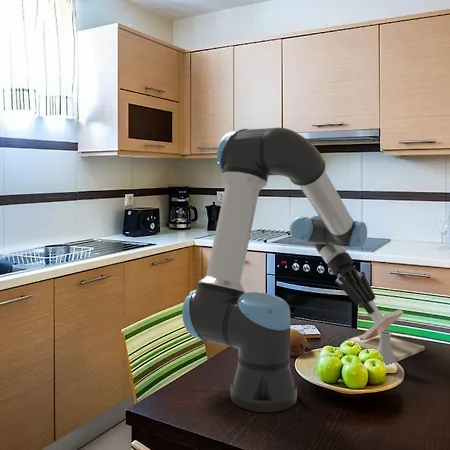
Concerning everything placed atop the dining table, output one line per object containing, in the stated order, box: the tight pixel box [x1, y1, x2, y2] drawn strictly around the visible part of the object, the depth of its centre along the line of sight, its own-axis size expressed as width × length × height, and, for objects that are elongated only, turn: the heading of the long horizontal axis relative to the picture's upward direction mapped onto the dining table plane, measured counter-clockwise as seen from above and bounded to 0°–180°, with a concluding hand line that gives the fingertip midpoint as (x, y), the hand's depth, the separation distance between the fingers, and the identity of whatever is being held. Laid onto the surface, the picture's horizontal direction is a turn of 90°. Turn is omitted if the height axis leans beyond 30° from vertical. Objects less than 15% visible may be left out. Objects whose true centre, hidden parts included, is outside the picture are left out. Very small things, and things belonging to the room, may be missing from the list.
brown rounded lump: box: [290, 328, 311, 357], centre depth 149 cm, size 10×10×8 cm
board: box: [343, 334, 426, 362], centre depth 152 cm, size 14×18×1 cm
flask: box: [377, 330, 397, 365], centre depth 134 cm, size 7×7×10 cm
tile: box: [360, 309, 404, 341], centre depth 152 cm, size 8×1×12 cm
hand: (380, 321), depth 152 cm, fingers closed
